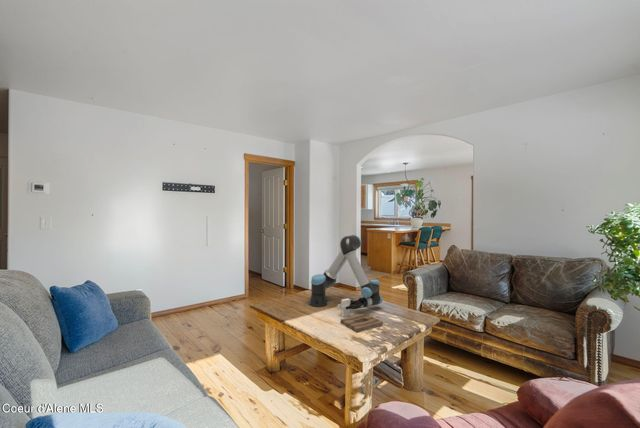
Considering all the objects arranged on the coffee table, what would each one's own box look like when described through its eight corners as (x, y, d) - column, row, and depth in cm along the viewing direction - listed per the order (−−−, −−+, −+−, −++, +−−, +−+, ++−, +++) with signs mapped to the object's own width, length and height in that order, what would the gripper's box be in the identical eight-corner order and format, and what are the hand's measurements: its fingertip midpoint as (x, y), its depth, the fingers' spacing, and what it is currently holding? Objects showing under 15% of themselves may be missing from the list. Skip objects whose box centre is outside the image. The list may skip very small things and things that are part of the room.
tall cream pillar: (341, 315, 212) (341, 299, 212) (347, 314, 215) (347, 298, 215) (343, 317, 209) (343, 300, 209) (350, 315, 212) (350, 299, 212)
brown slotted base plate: (340, 322, 199) (340, 319, 199) (365, 316, 210) (365, 313, 210) (356, 332, 183) (356, 328, 183) (382, 325, 194) (382, 321, 194)
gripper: (372, 310, 214) (346, 316, 202) (357, 303, 229) (333, 309, 217) (372, 300, 214) (346, 305, 202) (357, 294, 228) (333, 299, 216)
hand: (339, 307), depth 209 cm, fingers open, 4 cm apart
